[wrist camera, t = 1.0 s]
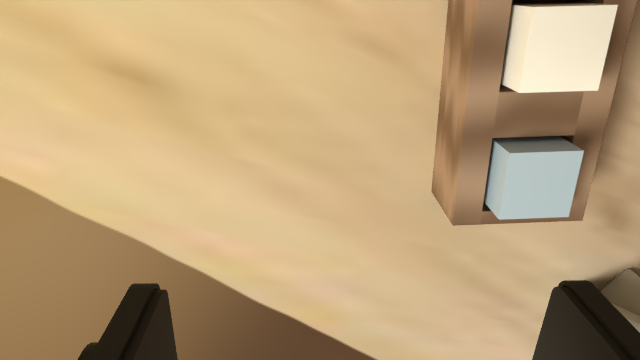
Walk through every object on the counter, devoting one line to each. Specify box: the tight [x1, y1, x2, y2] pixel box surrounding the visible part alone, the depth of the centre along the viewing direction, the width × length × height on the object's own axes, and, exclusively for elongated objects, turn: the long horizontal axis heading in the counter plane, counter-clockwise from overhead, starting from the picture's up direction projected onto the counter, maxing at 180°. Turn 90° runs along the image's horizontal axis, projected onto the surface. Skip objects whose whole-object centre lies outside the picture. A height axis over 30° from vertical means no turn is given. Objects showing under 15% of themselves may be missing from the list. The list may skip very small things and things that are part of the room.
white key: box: [500, 2, 618, 93], centre depth 28 cm, size 5×5×4 cm
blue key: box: [484, 136, 584, 220], centre depth 32 cm, size 5×5×4 cm
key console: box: [432, 0, 637, 225], centre depth 31 cm, size 26×10×6 cm, turn 1°
